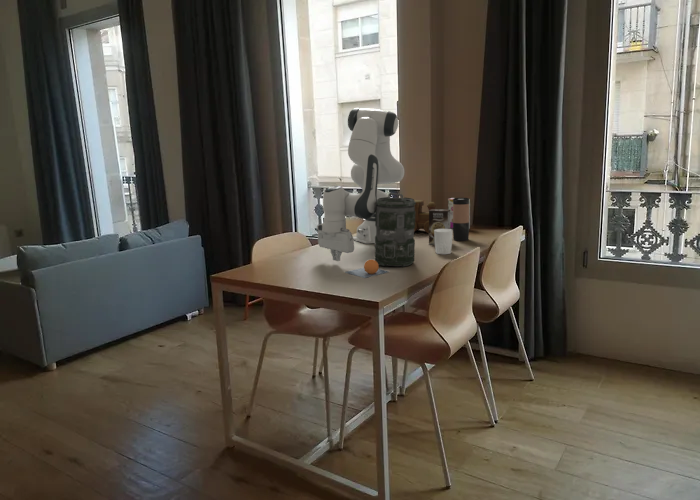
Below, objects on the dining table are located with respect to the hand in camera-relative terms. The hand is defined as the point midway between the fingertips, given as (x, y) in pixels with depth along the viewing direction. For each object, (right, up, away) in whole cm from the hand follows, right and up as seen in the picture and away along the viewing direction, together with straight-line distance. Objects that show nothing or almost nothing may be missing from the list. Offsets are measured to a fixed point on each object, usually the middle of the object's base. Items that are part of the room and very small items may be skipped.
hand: (336, 260), depth 217 cm
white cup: (+46, +3, +14) cm, 48 cm away
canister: (+23, -1, -2) cm, 24 cm away
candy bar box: (+64, +15, +72) cm, 98 cm away
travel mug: (+59, +9, +42) cm, 73 cm away
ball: (+13, -2, -18) cm, 22 cm away
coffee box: (+48, +7, +34) cm, 59 cm away
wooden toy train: (+44, +14, +67) cm, 82 cm away
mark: (+12, -4, -14) cm, 19 cm away
